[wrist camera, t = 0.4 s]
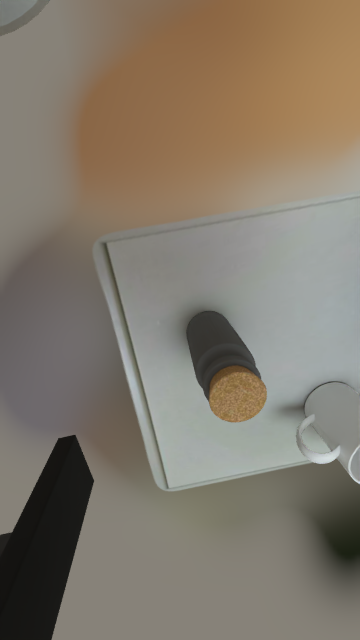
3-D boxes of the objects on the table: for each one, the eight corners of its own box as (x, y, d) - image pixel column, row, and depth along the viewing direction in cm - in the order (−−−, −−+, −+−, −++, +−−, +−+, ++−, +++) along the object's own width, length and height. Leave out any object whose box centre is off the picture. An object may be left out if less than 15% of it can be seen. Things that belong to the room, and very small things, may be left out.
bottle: (176, 333, 36) (186, 402, 22) (208, 301, 35) (240, 351, 21) (208, 360, 38) (236, 440, 23) (239, 330, 36) (289, 395, 22)
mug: (359, 379, 40) (424, 429, 30) (350, 424, 43) (408, 483, 33) (277, 384, 40) (316, 437, 30) (273, 429, 42) (307, 492, 32)
